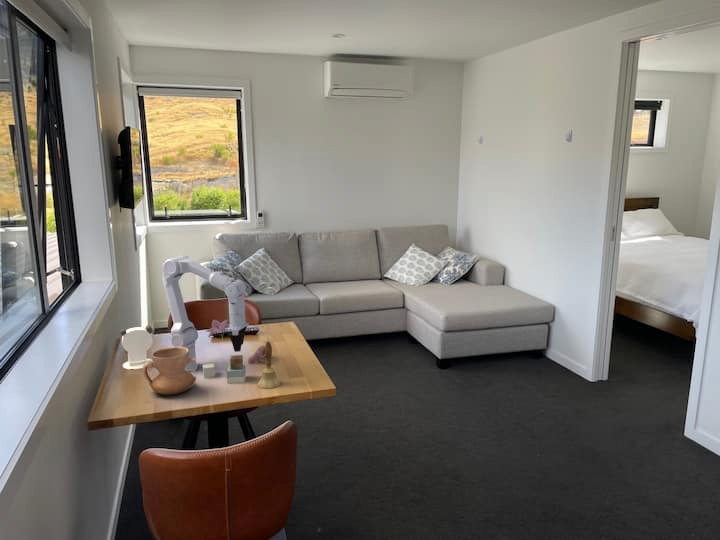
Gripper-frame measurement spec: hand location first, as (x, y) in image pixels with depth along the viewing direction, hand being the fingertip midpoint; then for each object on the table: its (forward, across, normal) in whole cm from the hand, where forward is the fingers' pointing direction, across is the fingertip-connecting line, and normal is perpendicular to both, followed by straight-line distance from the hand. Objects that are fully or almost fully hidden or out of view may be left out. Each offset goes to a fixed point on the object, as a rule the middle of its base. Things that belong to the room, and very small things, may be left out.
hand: (238, 347), depth 203 cm
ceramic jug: (+11, -13, +22) cm, 28 cm away
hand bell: (+10, -11, -12) cm, 19 cm away
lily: (+11, +45, +15) cm, 48 cm away
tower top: (+8, -6, +1) cm, 10 cm away
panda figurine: (+11, +15, +42) cm, 46 cm away
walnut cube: (+6, -5, 0) cm, 8 cm away
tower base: (+11, -6, +1) cm, 12 cm away
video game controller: (+11, +14, -6) cm, 19 cm away
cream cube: (+10, 0, +11) cm, 16 cm away
